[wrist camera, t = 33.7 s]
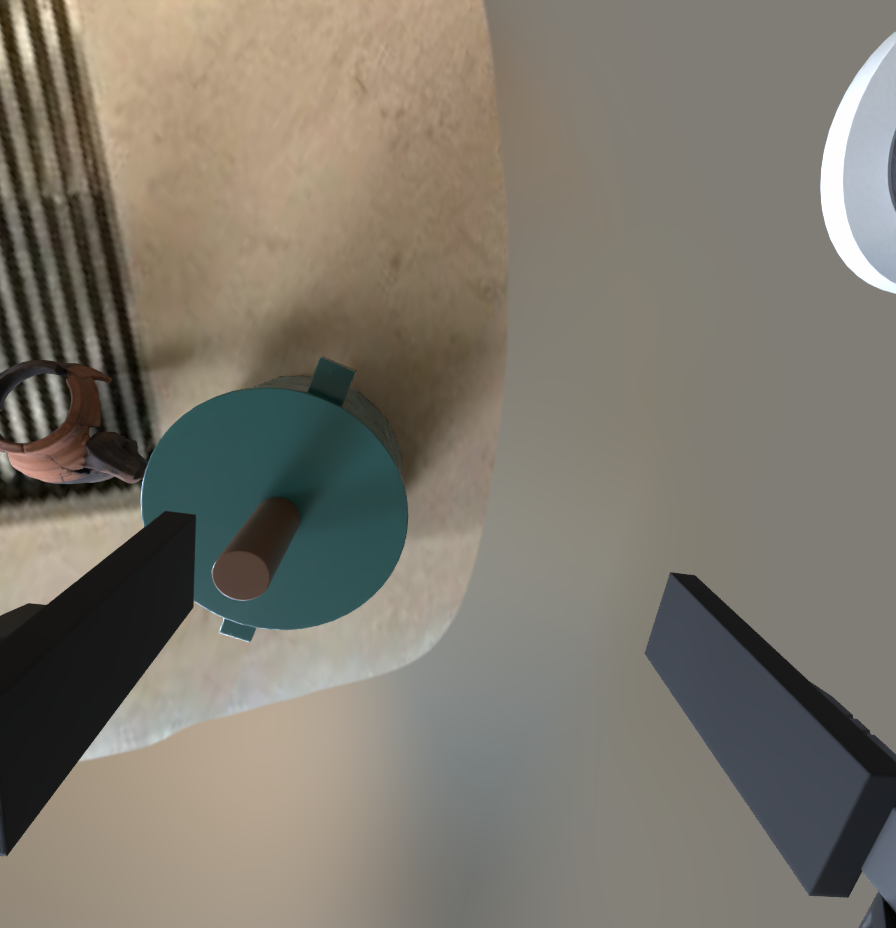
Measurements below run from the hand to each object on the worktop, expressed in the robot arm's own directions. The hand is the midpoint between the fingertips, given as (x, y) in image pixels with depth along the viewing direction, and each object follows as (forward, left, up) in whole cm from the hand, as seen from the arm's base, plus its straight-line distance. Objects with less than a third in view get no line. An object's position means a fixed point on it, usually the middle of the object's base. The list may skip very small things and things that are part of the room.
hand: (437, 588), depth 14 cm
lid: (+6, +9, -21) cm, 24 cm away
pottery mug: (+23, +12, -31) cm, 41 cm away
